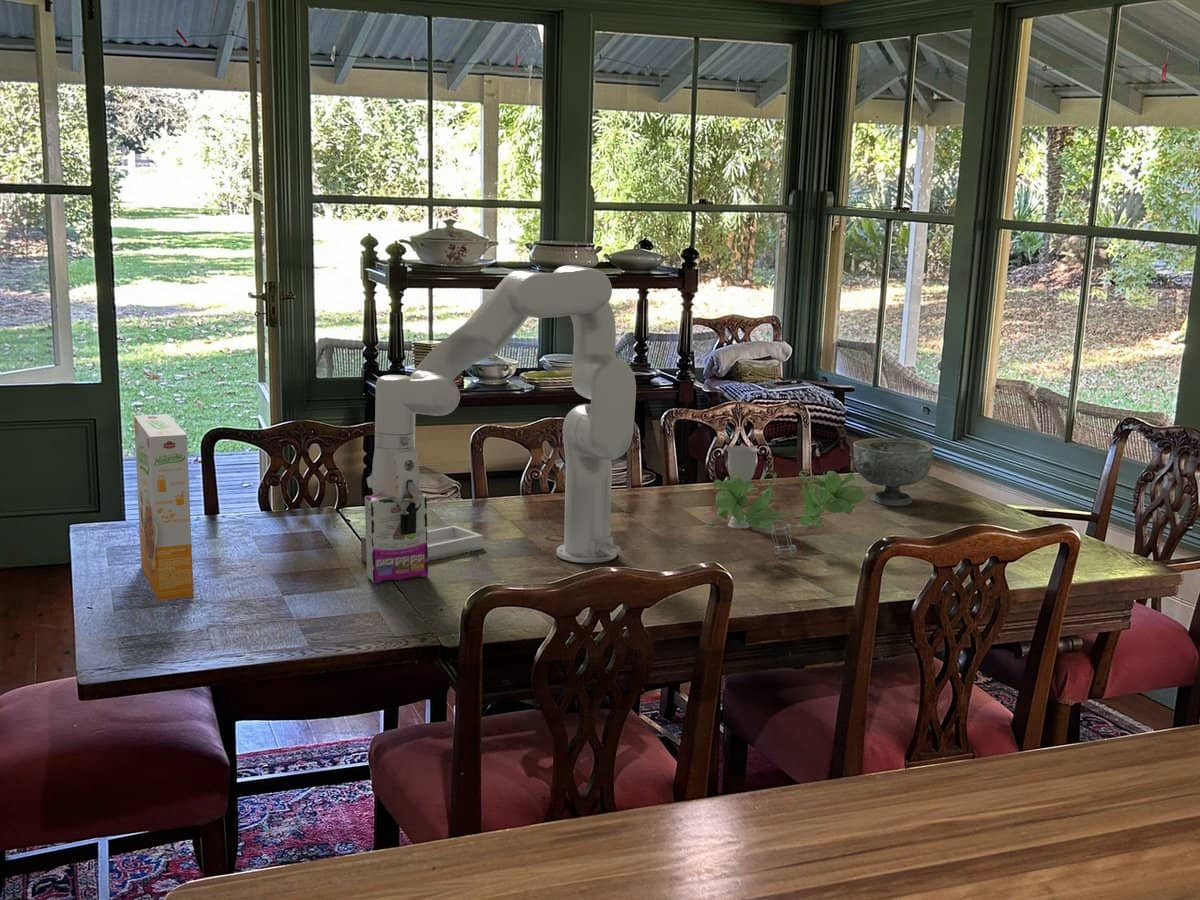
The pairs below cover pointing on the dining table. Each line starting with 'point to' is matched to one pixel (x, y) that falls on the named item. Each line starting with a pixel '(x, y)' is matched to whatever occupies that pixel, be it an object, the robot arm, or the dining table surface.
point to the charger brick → (363, 549)
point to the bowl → (893, 465)
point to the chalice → (741, 470)
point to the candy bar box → (394, 541)
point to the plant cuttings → (756, 514)
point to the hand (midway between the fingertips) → (393, 528)
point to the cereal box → (164, 505)
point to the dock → (452, 542)
